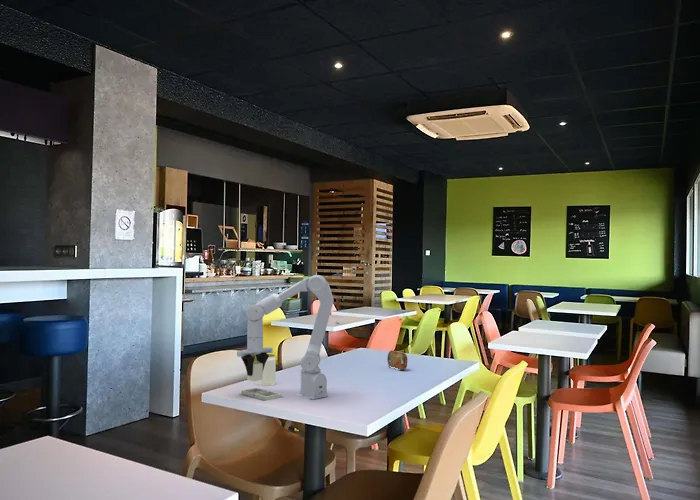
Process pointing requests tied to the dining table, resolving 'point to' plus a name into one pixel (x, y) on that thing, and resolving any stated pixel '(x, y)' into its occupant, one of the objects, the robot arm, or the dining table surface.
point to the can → (269, 372)
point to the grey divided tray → (260, 394)
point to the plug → (256, 372)
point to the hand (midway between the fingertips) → (255, 374)
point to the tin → (397, 359)
